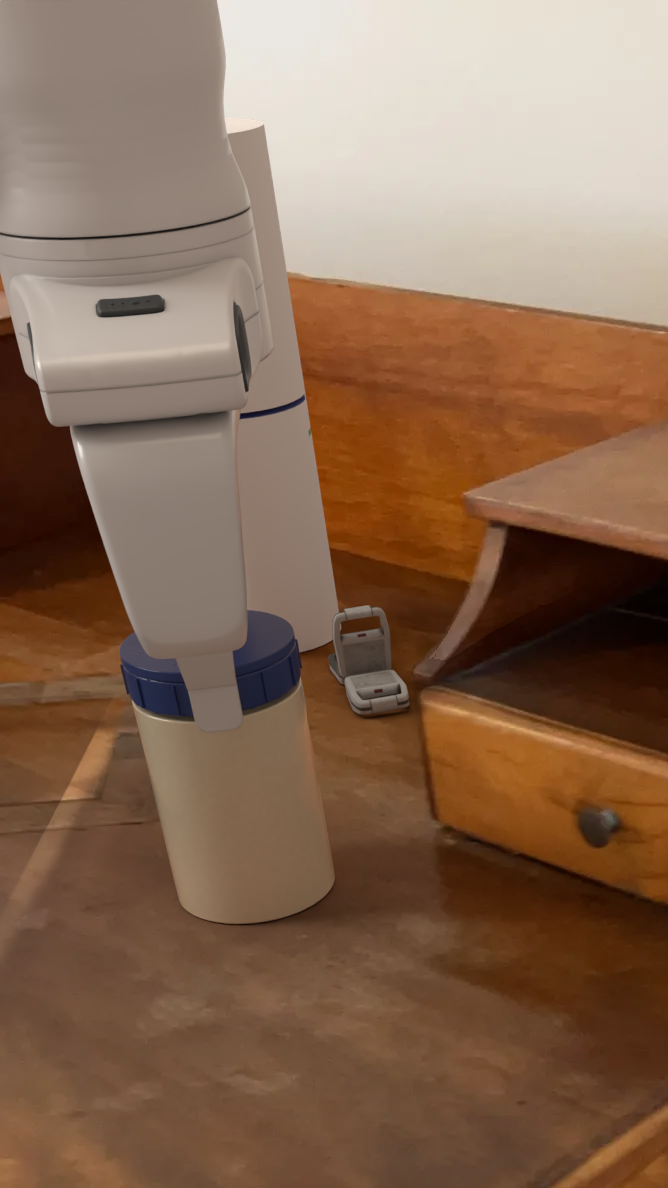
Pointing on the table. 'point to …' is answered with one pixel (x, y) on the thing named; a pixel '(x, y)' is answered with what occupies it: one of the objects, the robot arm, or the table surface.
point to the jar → (241, 811)
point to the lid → (259, 666)
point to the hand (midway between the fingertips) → (218, 685)
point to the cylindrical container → (279, 439)
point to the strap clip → (367, 664)
